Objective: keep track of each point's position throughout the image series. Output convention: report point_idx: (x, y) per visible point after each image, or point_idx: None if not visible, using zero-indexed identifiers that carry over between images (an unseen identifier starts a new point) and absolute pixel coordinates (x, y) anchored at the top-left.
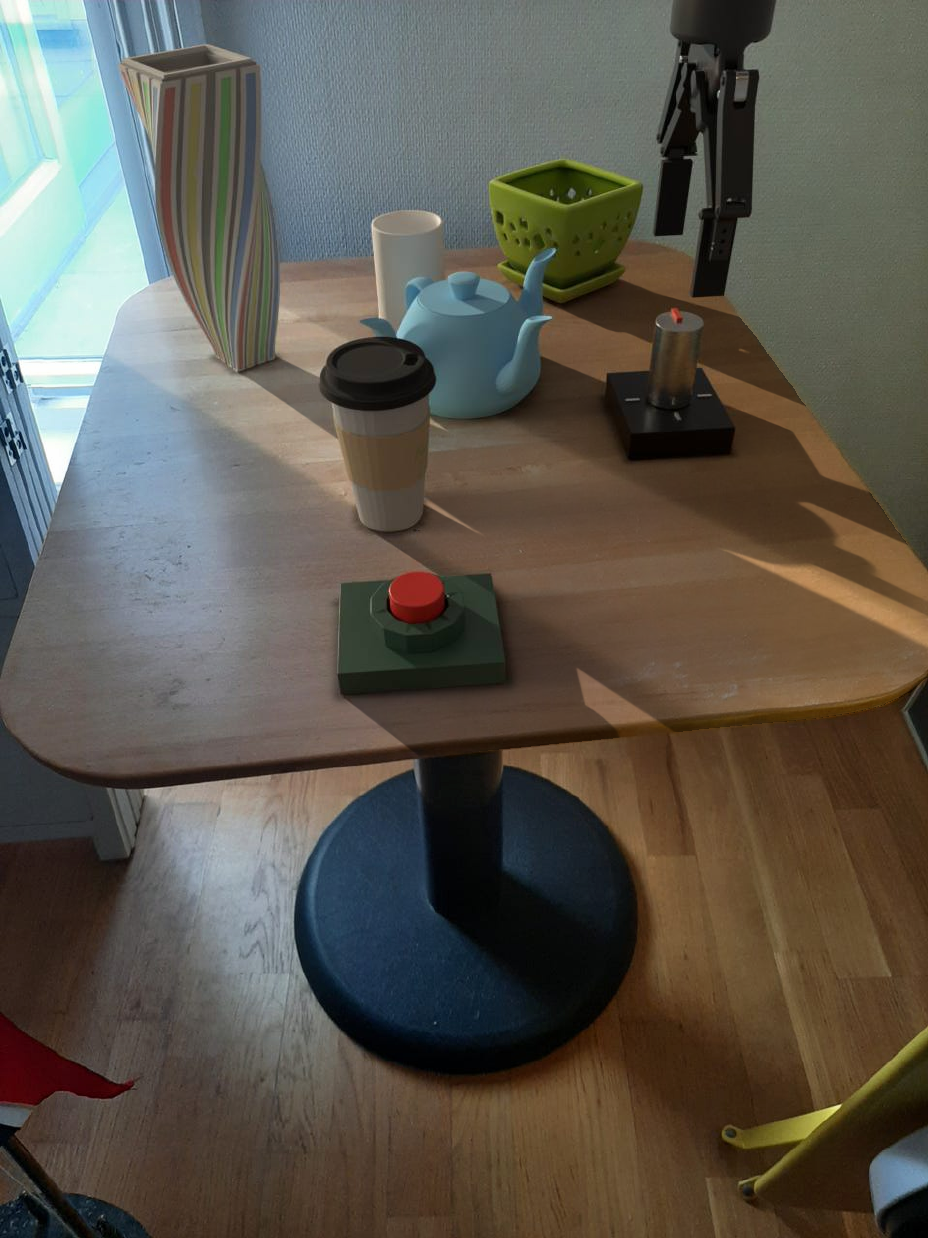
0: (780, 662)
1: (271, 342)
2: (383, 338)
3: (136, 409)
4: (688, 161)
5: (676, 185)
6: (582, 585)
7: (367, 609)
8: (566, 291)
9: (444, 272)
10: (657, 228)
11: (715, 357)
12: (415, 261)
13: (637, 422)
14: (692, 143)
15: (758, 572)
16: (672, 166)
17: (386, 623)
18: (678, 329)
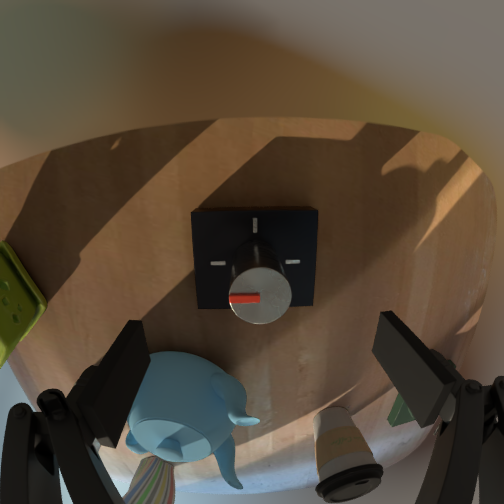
0: (480, 244)
1: (154, 463)
2: (328, 495)
3: (213, 487)
4: (96, 413)
5: (119, 394)
6: (417, 332)
7: (410, 415)
8: (42, 302)
9: None
10: (147, 365)
11: (126, 174)
12: (96, 439)
13: (296, 298)
14: (85, 443)
15: (436, 233)
16: (110, 429)
17: None
18: (284, 303)
